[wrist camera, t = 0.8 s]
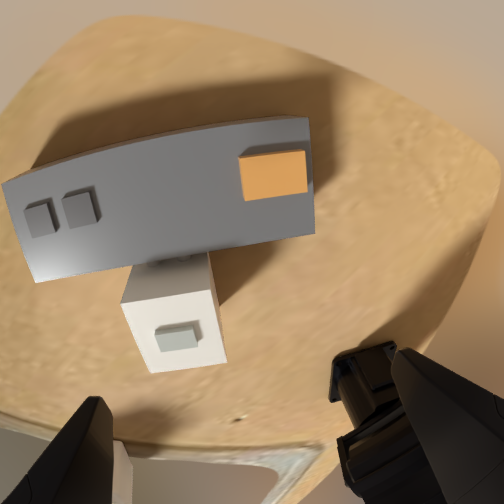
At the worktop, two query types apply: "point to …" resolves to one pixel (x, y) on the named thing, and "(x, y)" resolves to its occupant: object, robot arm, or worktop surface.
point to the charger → (175, 313)
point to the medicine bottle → (121, 475)
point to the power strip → (165, 197)
